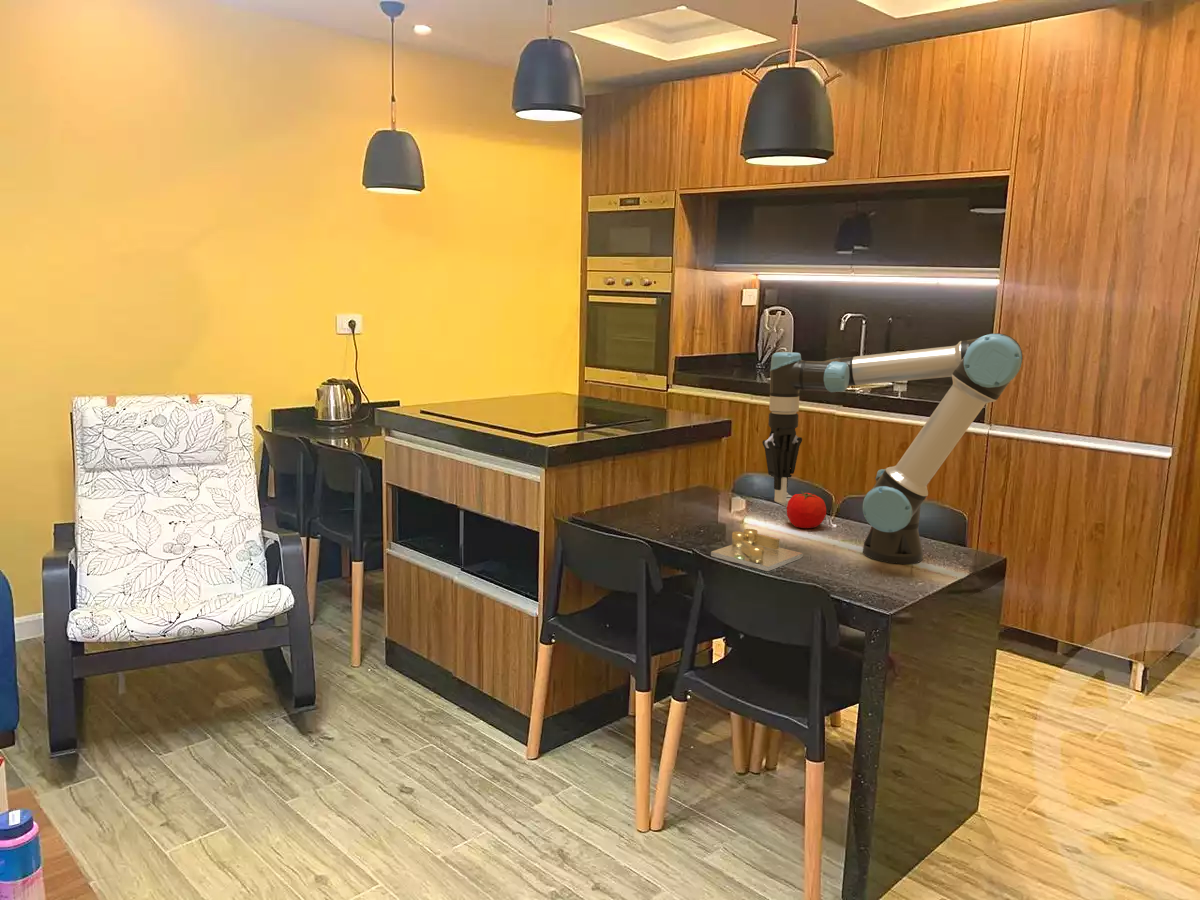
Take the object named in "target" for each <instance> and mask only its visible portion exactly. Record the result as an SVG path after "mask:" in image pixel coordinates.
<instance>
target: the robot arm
mask: <svg viewBox="0 0 1200 900" xmlns="http://www.w3.org/2000/svg"><path fill="white" fill-rule="evenodd" d="M801 354H802V353H800V352H792V351H791V352H790V351H780V352H779V351H777V352H774V353H773V354H772V355H771V360H770V369H769V372H770V376H769V404H768V405H769V407H768V409H769V410H768V411H770V412H769V413H768V427H769V428H770V432H769V437H768V439H766V440H765V439H764V440H762V442H761V443H762V446H763V448H764V451H765V459H766V466H767V474H768V476H771V477H773V490H774V499H773V500H774V502H775V501H777V502H781V503H784V502H786V491H788V490H787V489H788V486H789V484H788V483H789V478H792V476H793V474H794V473H795V470H796V465H797V461H798V455H799V451H800V450H799V449H800V446H801V444H802V442H803V437H800V436H798V435H797V431H796V428H798V427H799V414H798V413H797V412H799V411H800V391H814V392H815V391H816V392H828V393H829V392H830V393H836V392H837V393H838V392H840V393H843V392H845V391H846V390H848V387H852V386H860V385H861V386H862V385H872V384H883V383H884V384H885V383H893V382H905V381H906V382H907V381H917V380H919V381H920V380H928V379H939V378H949V377H951V379H952V385H951V386H950V388H949V389H948V391H947V392H946V393H945V395H944V396H943V398H942V399H941V401H940V402H939V403H938V405H937V406H936V408H935V409H934V410H933V412H932V414H930V416H929V418H928V419H927V421H926V422H925V424H924V425H923V427H922V428H921V429H920V431H918V434H917V435H916V436H915V438H914V439H913V441H912V442H911V444H910V445H909V447H907V448H906V451H905V452H904V454H903V455H902V456H901V458H900V460H899V461H898V462H897V463H896V465H894V466H889V467H886V468H884V469H883V468H881V469H878V471H877V472H876V477H875V484H874V485H873V487H872V488H871V489H870V490H869V491H868V492H867V493H866V494H865V495H864V499H863V502H862V513H863V514H862V515H863V517H864V518H865V520H866V522H867V523H868V524H869V525H870V528H869V531H868V534H867V535H866V536H865V537H866V538H865V540H864V541H863V547H862V553H863V555H864V556H866V557H868V558H869V559H872V560H876V561H878V562H879V561H880V562H884V563H891V564H899V565H901V564H902V565H903V564H905V565H906V564H908V565H909V564H917V563H920V562H921V561H923V556H924V555H923V554H924V550H923V545H922V541H921V537H920V533H919V524H920V523H919V522H920V516H921V515H920V513H921V506H922V504H923V503H924V501H925V500H926V498H927V497H928V495H929V491H928V484H929V483H930V482H931V480H932V479H933V477H935V475H936V473H937V472H938V470H939V469H940V467H941V466H942V465H943V463H944V462H945V461H946V459H947V458H948V456H949V455H950V453H951V452H952V451H953V450H954V449H955V447H956V446H957V444H958V443H959V441H960V440H961V438H962V437H963V436H964V434H965V433H966V432H967V430H968V429H969V428H970V426H971V425H972V424H973V422H974V421H975V419H977V416H978V415H979V414H980V413H981V411H982V410H983V408H984V407H985V405H987V404H988V403H993V402H996V401H997V400H998V399H999V398H1000V396H1001V395H1002V393H1003V392H1004V391H1005V389H1006V388H1007V387H1008V386H1009V384H1010V382H1012V380H1014V379H1015V378H1016V376H1017V374H1019V372H1020V370H1021V367H1022V363H1023V359H1024V357H1023V350H1022V348H1021V346H1020V344H1019V342H1017V340H1016V339H1014V337H1012V336H1009V335H1008V334H1005V333H1004V334H1003V333H999V332H997V333H989V334H986V335H982V336H980V337H978V338H972V339H967V340H960V341H958V343H957V344H955V345H951V346H950V345H949V346H940V347H939V346H938V347H931V348H923V349H914V350H912V349H911V350H904V351H894V352H884V353H876V354H875V353H874V354H866V355H857V356H850V357H849V356H847V357H835V358H830V359H828V360H823V361H821V360H820V361H818V360H816V361H815V360H802V355H801ZM777 502H776V503H777Z"/></svg>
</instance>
